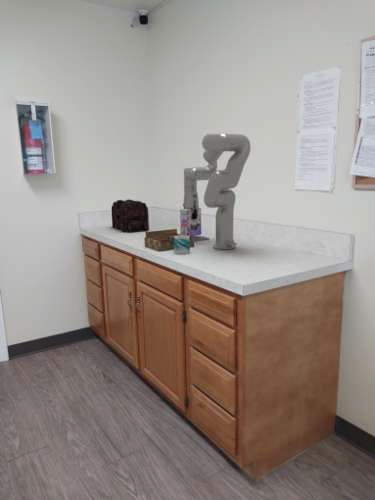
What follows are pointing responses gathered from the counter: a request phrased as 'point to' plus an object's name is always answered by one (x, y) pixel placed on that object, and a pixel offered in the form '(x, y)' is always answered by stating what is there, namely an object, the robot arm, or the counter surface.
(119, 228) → the crate
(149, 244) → the frame
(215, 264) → the counter surface
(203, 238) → the board
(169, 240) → the offcut upper
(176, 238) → the mug
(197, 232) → the candy box
